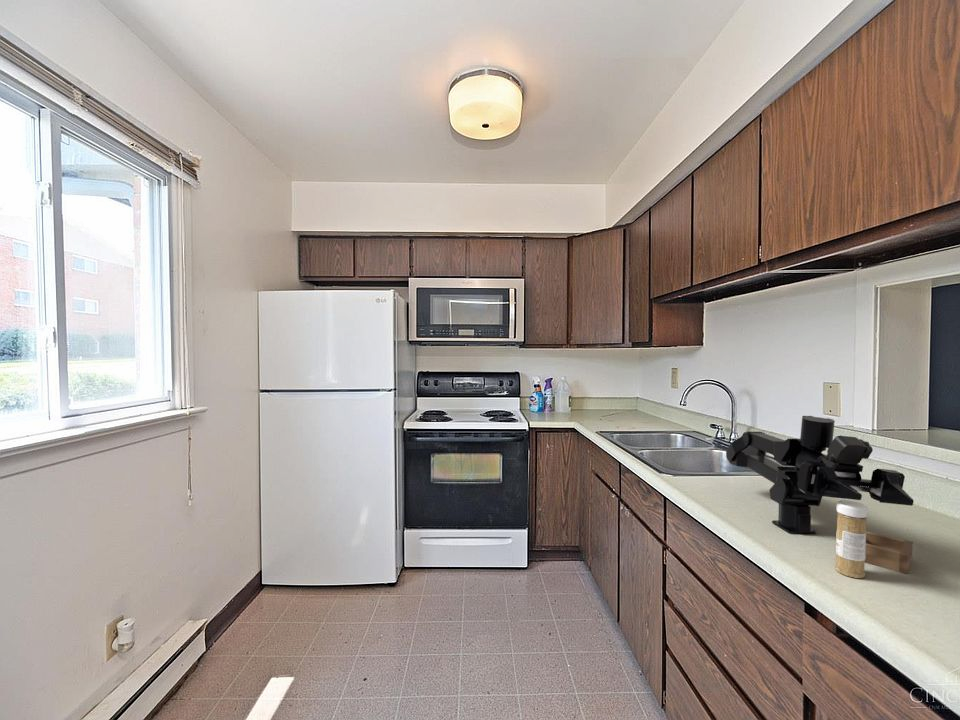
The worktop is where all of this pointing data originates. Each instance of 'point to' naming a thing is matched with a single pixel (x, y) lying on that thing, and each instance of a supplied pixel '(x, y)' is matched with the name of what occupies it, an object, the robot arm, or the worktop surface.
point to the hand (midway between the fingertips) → (886, 500)
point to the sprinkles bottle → (851, 538)
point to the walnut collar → (888, 552)
